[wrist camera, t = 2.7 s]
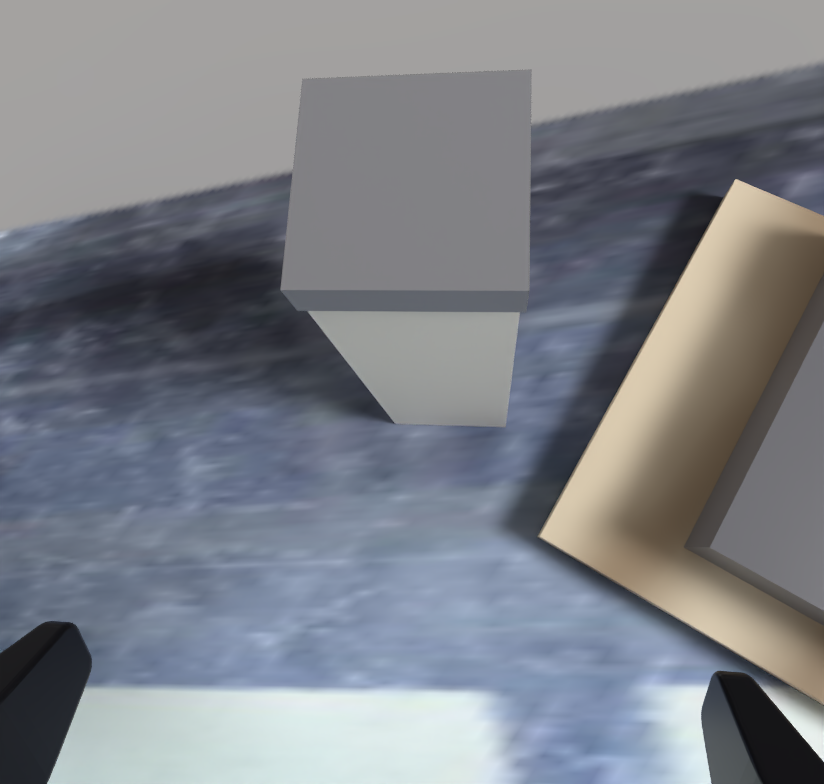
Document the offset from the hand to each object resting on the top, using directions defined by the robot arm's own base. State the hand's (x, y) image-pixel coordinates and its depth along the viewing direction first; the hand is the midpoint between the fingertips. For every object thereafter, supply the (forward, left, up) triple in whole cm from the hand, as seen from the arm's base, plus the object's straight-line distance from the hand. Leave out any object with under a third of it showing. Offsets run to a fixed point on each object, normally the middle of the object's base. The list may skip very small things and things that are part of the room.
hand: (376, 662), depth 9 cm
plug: (0, +8, -13) cm, 16 cm away
